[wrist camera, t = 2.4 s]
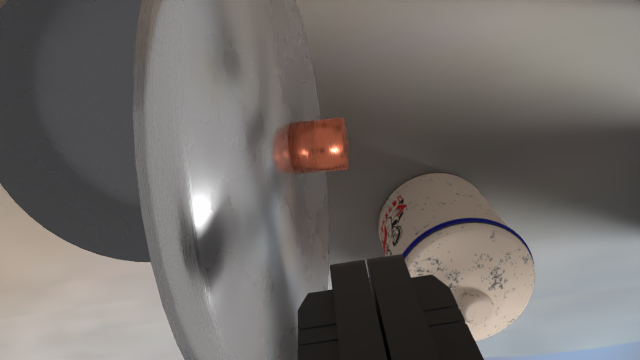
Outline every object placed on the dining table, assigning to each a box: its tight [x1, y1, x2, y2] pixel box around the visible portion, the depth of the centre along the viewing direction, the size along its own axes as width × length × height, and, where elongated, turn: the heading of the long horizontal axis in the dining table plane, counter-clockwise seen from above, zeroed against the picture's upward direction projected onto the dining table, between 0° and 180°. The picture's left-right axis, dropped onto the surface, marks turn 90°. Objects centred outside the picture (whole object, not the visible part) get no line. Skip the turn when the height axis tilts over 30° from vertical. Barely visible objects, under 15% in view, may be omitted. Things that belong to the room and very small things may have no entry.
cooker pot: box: [0, 0, 151, 262], centre depth 32 cm, size 16×24×10 cm, turn 8°
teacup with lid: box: [378, 173, 535, 341], centre depth 36 cm, size 12×9×12 cm
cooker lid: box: [133, 0, 350, 360], centre depth 19 cm, size 17×17×3 cm
